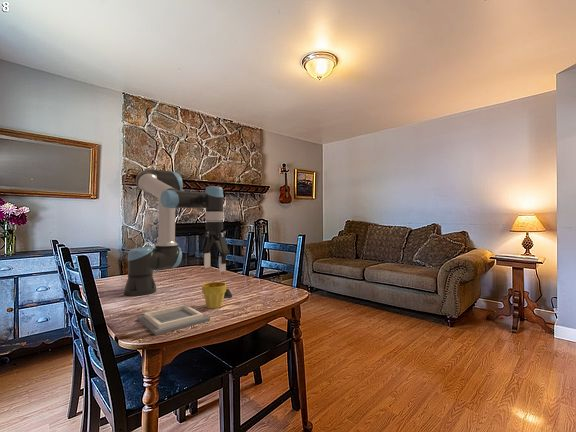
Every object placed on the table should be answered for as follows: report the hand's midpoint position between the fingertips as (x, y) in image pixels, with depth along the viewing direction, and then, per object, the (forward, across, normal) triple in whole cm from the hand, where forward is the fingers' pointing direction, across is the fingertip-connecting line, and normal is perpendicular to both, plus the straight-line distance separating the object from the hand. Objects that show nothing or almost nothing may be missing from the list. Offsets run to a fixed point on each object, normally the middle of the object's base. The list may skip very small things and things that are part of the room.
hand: (214, 269), depth 130 cm
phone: (+17, +15, -13) cm, 26 cm away
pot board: (+16, -5, +20) cm, 26 cm away
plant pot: (+17, 0, 0) cm, 17 cm away
